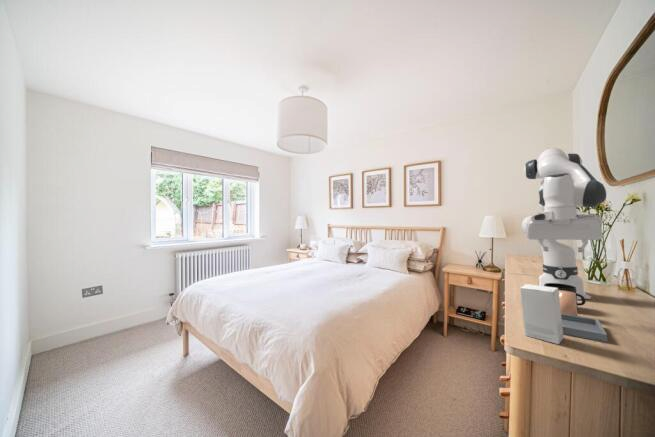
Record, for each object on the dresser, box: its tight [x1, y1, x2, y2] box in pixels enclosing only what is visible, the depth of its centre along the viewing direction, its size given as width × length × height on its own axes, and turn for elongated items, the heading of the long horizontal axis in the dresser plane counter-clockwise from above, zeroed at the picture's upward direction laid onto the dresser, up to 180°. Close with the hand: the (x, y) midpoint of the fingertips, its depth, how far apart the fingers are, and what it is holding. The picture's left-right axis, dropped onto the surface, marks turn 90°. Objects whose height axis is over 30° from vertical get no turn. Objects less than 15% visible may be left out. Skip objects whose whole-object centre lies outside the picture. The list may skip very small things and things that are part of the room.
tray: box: [561, 314, 609, 344], centre depth 79 cm, size 14×14×2 cm
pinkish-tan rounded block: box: [558, 290, 578, 316], centre depth 88 cm, size 5×5×9 cm
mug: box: [544, 283, 587, 311], centre depth 96 cm, size 9×12×9 cm
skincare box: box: [519, 283, 564, 345], centre depth 74 cm, size 8×7×16 cm
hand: (562, 251), depth 89 cm, fingers open, 8 cm apart
